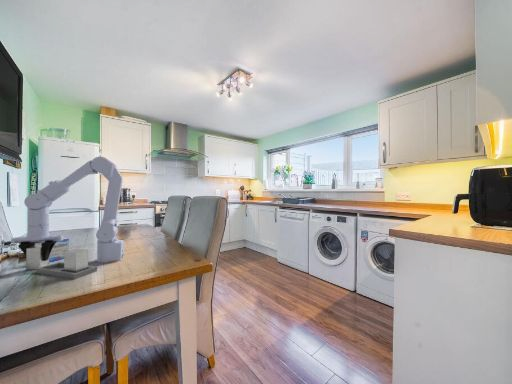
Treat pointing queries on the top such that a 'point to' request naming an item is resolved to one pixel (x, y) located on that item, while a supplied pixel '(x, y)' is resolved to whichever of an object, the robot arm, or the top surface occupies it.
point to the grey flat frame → (58, 270)
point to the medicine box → (59, 250)
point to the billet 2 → (75, 260)
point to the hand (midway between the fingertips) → (38, 260)
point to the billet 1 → (35, 257)
